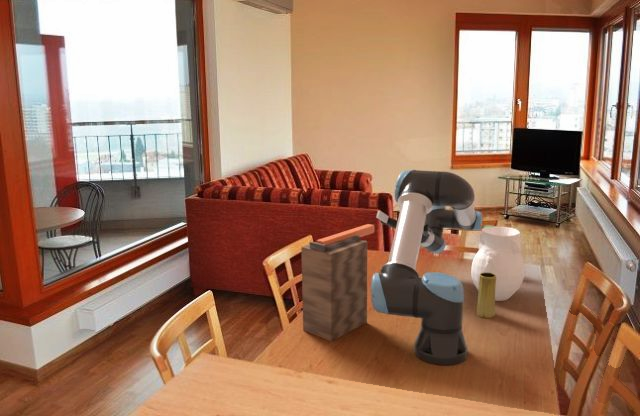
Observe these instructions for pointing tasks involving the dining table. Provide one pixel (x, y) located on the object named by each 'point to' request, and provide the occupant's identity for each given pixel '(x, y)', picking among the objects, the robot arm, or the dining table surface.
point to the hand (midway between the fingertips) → (393, 216)
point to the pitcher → (499, 260)
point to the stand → (334, 287)
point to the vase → (486, 295)
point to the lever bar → (348, 234)
